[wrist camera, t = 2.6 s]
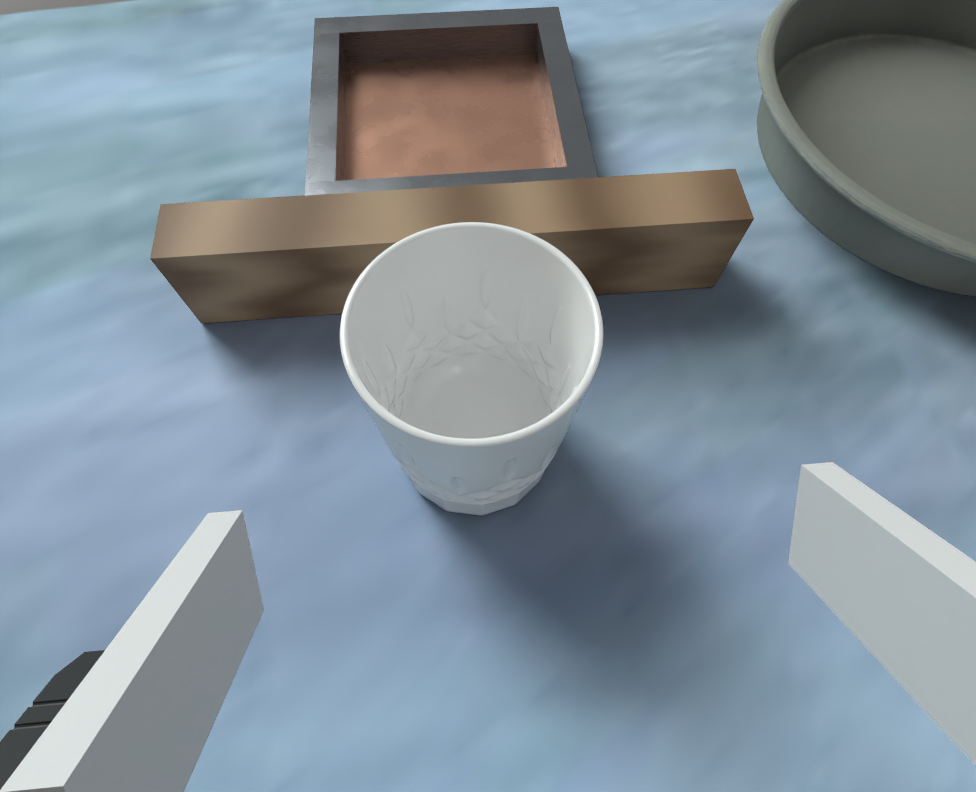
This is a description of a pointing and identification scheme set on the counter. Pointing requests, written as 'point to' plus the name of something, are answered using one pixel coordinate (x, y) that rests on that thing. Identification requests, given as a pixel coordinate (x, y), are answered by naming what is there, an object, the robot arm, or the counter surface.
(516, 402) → the white cup
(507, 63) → the square tray
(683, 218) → the board
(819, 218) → the cake pan
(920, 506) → the counter surface
